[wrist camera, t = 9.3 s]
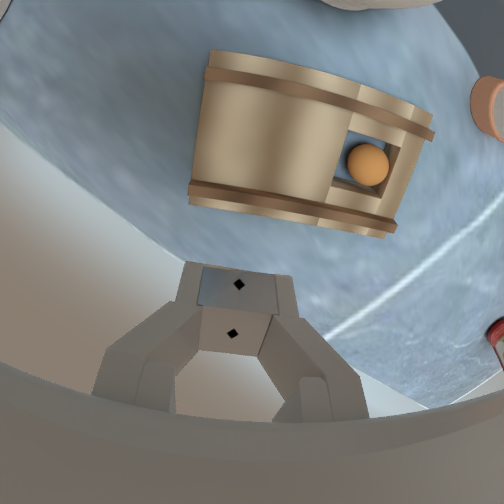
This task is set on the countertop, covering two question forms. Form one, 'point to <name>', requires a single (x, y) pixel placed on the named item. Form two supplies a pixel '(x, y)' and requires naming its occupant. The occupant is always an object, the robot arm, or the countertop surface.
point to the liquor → (497, 339)
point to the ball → (368, 164)
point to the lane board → (299, 144)
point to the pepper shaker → (489, 106)
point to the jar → (377, 4)
